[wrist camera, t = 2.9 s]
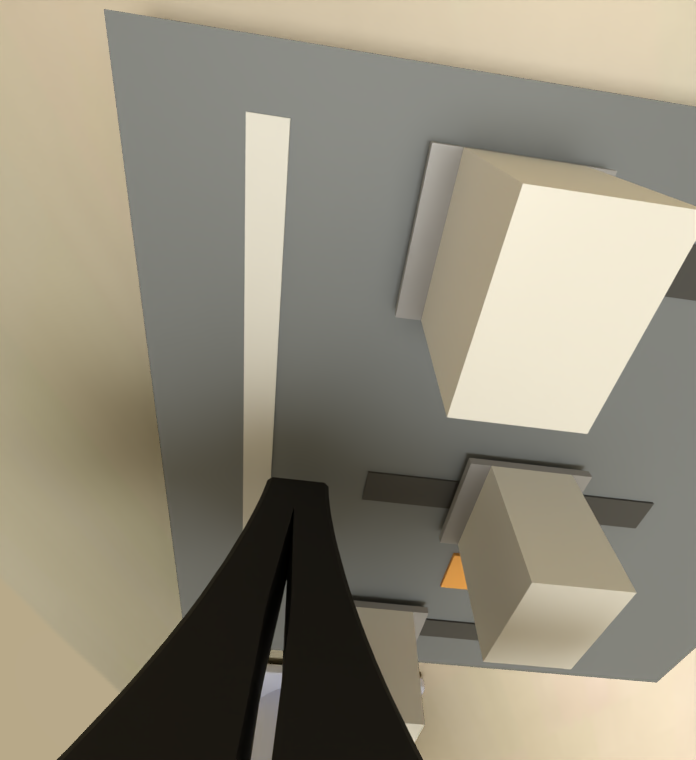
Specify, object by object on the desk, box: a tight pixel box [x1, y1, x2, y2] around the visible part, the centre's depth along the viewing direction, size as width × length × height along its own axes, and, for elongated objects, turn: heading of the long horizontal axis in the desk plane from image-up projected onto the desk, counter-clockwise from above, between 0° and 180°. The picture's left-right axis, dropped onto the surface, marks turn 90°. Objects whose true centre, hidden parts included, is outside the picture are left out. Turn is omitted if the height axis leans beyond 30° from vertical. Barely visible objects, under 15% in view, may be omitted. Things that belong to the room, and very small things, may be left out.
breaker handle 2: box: [395, 141, 696, 434], centre depth 7 cm, size 3×3×3 cm
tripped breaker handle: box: [439, 458, 636, 669], centre depth 10 cm, size 3×3×3 cm
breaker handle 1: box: [354, 601, 428, 743], centre depth 14 cm, size 3×3×3 cm
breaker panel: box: [104, 9, 696, 682], centre depth 13 cm, size 18×18×2 cm
